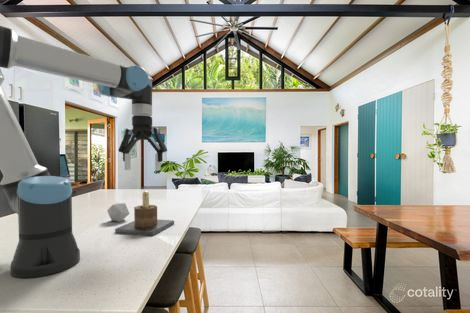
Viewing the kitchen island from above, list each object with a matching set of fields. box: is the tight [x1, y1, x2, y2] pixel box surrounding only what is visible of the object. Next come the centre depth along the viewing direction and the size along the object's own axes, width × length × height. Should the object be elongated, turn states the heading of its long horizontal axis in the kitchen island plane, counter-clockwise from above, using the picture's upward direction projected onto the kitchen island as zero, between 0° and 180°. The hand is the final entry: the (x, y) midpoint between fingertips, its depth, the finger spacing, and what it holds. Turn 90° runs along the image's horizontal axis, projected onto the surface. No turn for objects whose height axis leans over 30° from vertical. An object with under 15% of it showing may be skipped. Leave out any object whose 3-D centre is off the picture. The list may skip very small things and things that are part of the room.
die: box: [107, 202, 130, 223], centre depth 118 cm, size 8×9×10 cm
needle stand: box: [114, 190, 175, 236], centre depth 105 cm, size 16×16×15 cm
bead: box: [133, 204, 158, 227], centre depth 105 cm, size 8×8×7 cm
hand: (142, 170), depth 105 cm, fingers open, 13 cm apart
